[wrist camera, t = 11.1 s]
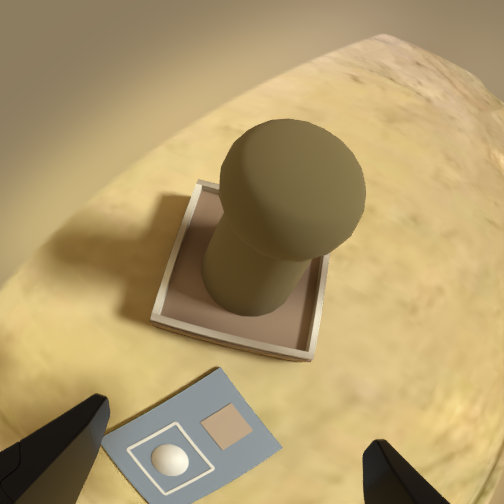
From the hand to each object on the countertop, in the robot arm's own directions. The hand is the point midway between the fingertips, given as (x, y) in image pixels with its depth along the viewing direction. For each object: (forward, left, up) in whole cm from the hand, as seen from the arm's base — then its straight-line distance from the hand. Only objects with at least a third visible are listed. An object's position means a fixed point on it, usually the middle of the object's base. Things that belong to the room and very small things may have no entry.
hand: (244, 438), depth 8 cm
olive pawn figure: (+4, +8, -8) cm, 12 cm away
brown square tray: (+4, +8, -10) cm, 13 cm away
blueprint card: (-3, -3, -10) cm, 11 cm away
